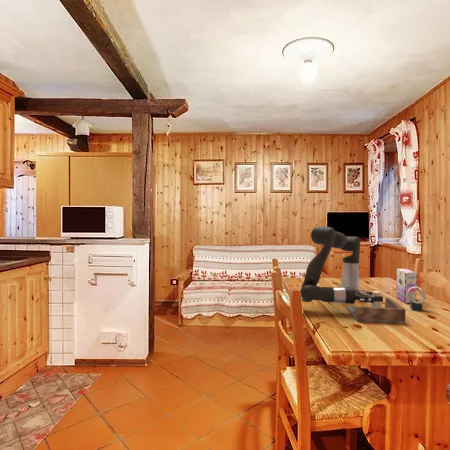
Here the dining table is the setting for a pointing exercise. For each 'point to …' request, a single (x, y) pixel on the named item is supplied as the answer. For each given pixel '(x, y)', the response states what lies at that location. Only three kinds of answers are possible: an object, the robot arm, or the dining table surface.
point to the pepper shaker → (376, 303)
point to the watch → (413, 304)
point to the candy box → (406, 285)
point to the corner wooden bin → (379, 313)
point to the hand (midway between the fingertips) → (379, 296)
